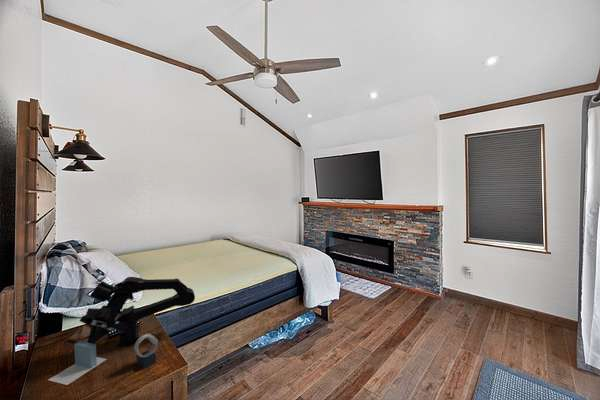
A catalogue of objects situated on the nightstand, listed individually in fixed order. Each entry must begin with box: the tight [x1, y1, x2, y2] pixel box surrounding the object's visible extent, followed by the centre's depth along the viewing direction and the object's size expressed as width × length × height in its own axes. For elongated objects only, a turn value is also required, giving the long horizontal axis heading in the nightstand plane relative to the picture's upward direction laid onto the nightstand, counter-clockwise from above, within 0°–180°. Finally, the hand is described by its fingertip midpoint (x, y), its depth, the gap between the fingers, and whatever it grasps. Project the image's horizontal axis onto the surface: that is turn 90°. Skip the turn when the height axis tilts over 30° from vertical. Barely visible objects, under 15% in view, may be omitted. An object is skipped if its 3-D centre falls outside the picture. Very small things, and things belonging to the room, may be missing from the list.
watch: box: [133, 333, 159, 370], centre depth 101 cm, size 6×8×11 cm
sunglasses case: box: [65, 324, 111, 346], centre depth 116 cm, size 18×7×7 cm, turn 70°
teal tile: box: [73, 341, 98, 369], centre depth 99 cm, size 2×8×8 cm, turn 76°
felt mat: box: [48, 356, 107, 386], centre depth 97 cm, size 14×9×1 cm, turn 166°
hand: (87, 346), depth 100 cm, fingers closed
